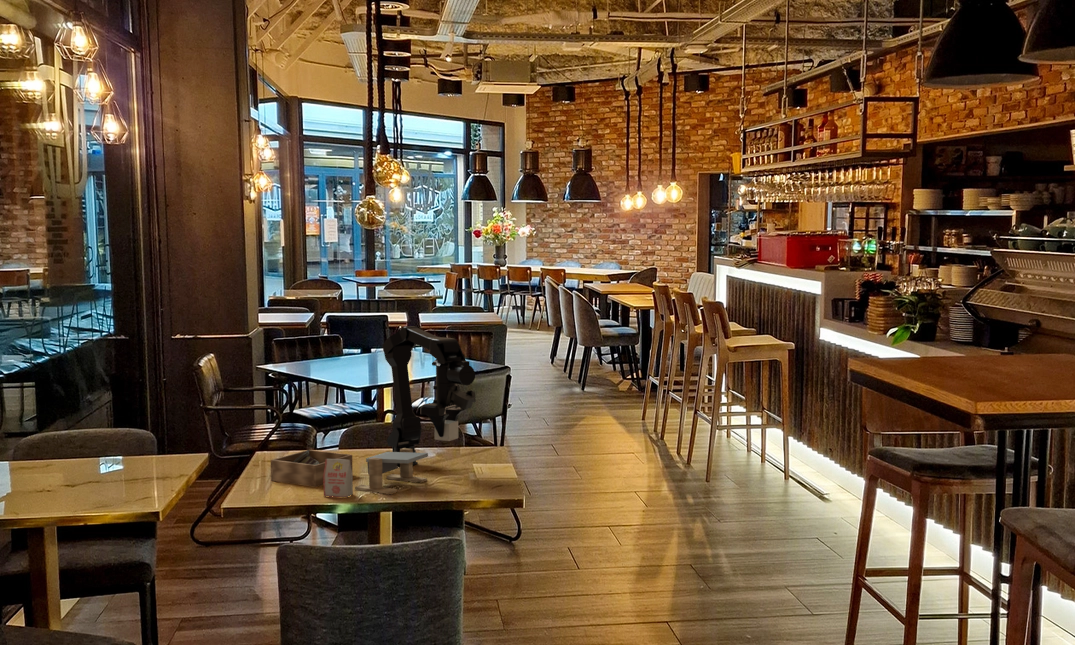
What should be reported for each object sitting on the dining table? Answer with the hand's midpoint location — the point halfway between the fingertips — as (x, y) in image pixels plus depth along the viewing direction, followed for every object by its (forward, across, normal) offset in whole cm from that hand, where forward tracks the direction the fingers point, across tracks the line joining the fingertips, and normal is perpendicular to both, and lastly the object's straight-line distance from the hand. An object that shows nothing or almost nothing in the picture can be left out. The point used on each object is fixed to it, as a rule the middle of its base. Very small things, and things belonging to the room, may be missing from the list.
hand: (446, 435), depth 271 cm
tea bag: (+13, -31, +15) cm, 37 cm away
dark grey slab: (+8, -15, +7) cm, 18 cm away
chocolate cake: (+13, -18, +38) cm, 44 cm away
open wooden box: (+12, -18, +35) cm, 41 cm away
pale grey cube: (+1, 0, 0) cm, 1 cm away
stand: (+12, -15, +9) cm, 21 cm away
